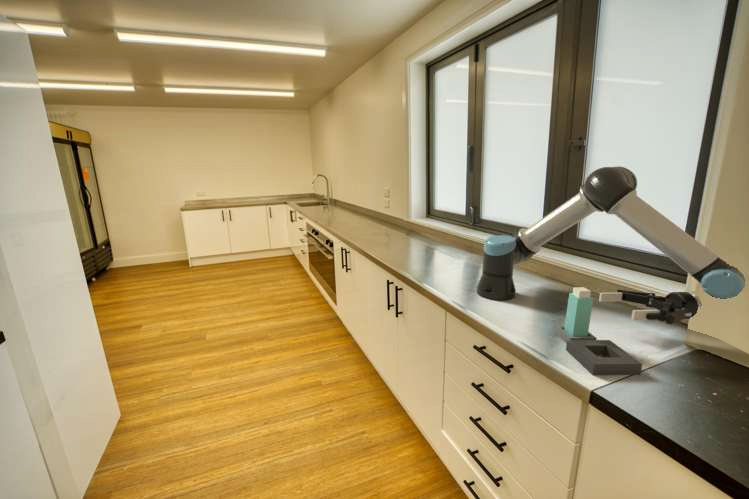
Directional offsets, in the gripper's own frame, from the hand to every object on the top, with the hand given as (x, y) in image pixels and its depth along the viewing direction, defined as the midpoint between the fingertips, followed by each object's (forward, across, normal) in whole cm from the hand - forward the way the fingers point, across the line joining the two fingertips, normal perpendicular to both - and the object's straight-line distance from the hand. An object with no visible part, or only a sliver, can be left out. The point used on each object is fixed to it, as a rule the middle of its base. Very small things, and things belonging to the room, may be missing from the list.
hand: (615, 305), depth 100 cm
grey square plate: (+10, 0, -11) cm, 15 cm away
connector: (+10, 0, -11) cm, 15 cm away
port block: (+10, -12, -11) cm, 19 cm away
